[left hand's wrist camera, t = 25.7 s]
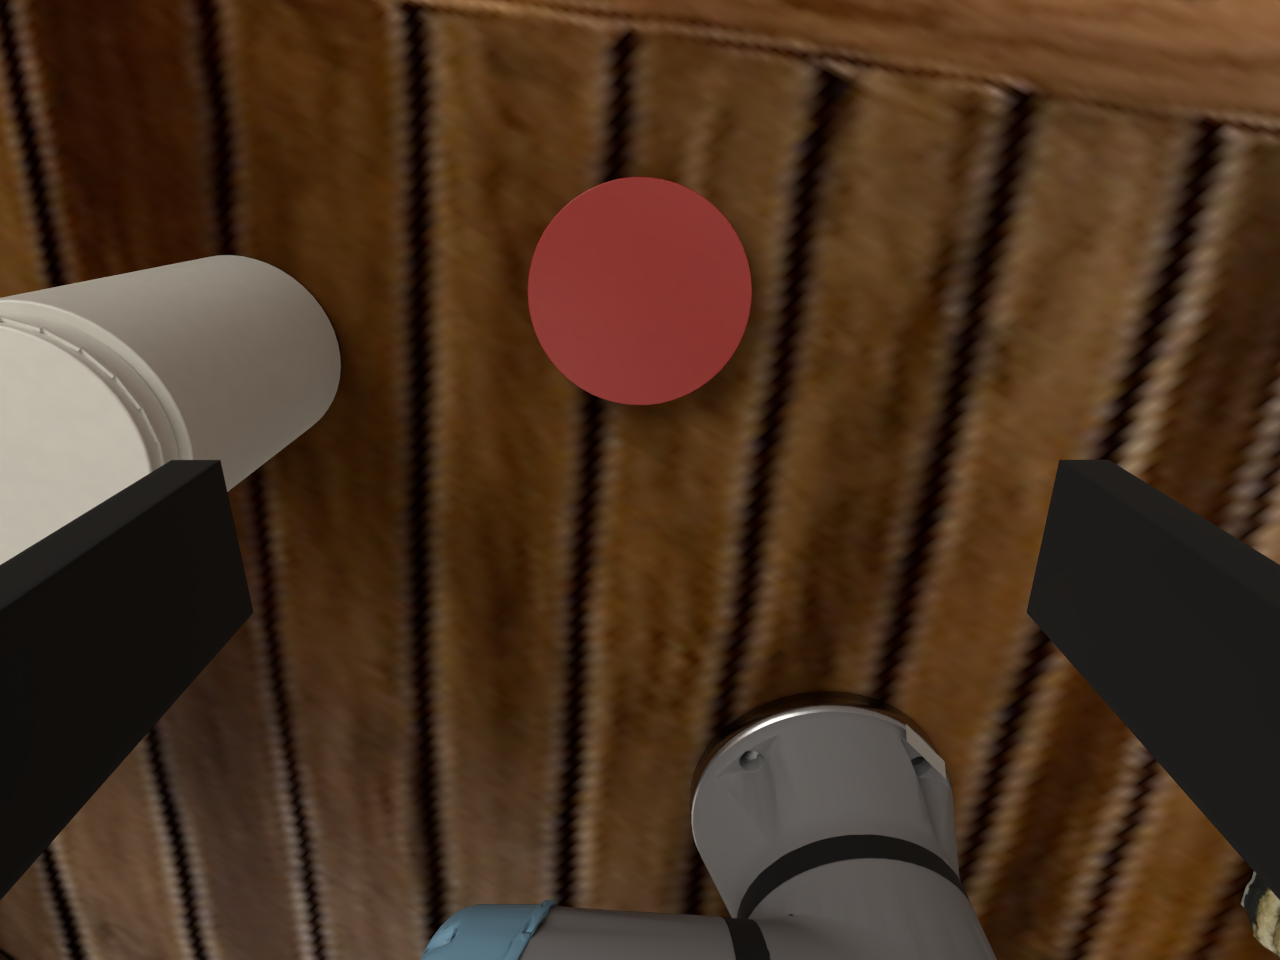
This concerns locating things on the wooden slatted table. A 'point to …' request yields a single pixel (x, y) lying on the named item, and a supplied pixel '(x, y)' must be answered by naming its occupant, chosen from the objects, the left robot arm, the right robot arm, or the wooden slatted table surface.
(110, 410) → the jar
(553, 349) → the lid
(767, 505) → the wooden slatted table surface
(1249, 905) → the fossil
